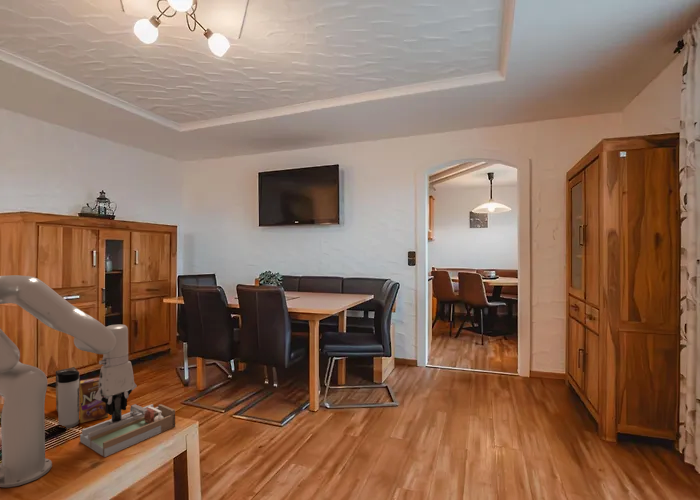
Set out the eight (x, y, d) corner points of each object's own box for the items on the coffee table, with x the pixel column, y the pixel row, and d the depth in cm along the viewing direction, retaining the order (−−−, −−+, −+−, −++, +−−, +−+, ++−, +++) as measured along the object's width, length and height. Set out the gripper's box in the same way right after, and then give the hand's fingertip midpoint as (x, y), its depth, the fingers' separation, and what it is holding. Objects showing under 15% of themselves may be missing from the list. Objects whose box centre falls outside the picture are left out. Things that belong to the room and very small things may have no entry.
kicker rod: (125, 435, 127) (125, 403, 127) (108, 426, 134) (108, 395, 133) (154, 423, 136) (154, 393, 136) (137, 415, 142) (137, 386, 142)
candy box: (80, 424, 141) (79, 383, 141) (79, 419, 144) (79, 379, 144) (108, 417, 146) (107, 378, 146) (107, 413, 150) (107, 375, 149)
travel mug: (53, 426, 139) (53, 372, 138) (74, 419, 145) (73, 367, 144) (62, 430, 136) (62, 375, 135) (82, 423, 142) (82, 370, 141)
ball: (165, 414, 139) (167, 422, 140) (159, 412, 141) (161, 420, 142) (155, 420, 136) (158, 429, 137) (150, 417, 138) (152, 426, 139)
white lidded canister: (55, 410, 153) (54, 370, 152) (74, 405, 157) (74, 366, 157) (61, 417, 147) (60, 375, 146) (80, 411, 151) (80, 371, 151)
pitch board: (104, 457, 119) (104, 435, 119) (80, 441, 128) (79, 421, 128) (175, 426, 139) (175, 407, 139) (150, 414, 149) (149, 397, 148)
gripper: (94, 368, 125) (95, 423, 125) (145, 356, 139) (145, 405, 139) (84, 364, 129) (85, 418, 129) (134, 352, 143) (134, 401, 143)
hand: (116, 411), depth 134 cm, fingers open, 3 cm apart
